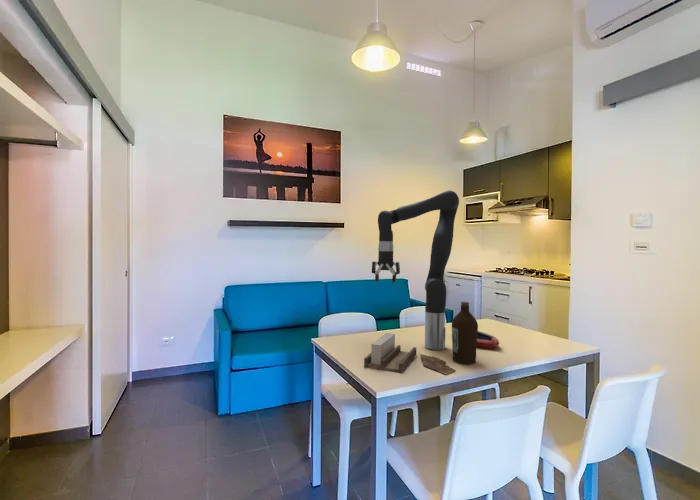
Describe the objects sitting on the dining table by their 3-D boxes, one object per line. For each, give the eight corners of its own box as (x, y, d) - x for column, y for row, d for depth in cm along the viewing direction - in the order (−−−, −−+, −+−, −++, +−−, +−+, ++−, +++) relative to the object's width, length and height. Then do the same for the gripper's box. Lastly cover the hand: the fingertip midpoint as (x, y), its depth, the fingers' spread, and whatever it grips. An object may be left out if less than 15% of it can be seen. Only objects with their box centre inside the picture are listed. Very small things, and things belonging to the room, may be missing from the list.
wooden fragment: (460, 375, 135) (460, 372, 135) (432, 376, 133) (433, 373, 133) (434, 354, 160) (434, 352, 160) (411, 355, 158) (411, 353, 158)
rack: (416, 355, 158) (416, 347, 158) (402, 372, 136) (402, 363, 136) (382, 350, 164) (382, 343, 164) (364, 366, 142) (364, 358, 142)
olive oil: (472, 357, 156) (473, 300, 155) (481, 365, 145) (482, 304, 145) (448, 357, 156) (449, 300, 155) (455, 365, 145) (456, 304, 145)
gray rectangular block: (394, 351, 160) (394, 333, 159) (380, 365, 141) (380, 345, 141) (386, 350, 161) (386, 332, 161) (371, 363, 143) (371, 343, 143)
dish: (468, 334, 197) (468, 325, 197) (509, 350, 168) (509, 339, 168) (444, 336, 192) (444, 327, 192) (481, 353, 163) (481, 342, 163)
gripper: (401, 250, 180) (401, 282, 180) (375, 250, 186) (374, 280, 186) (397, 250, 173) (397, 283, 174) (370, 250, 179) (369, 282, 179)
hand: (385, 282), depth 180 cm, fingers open, 8 cm apart
